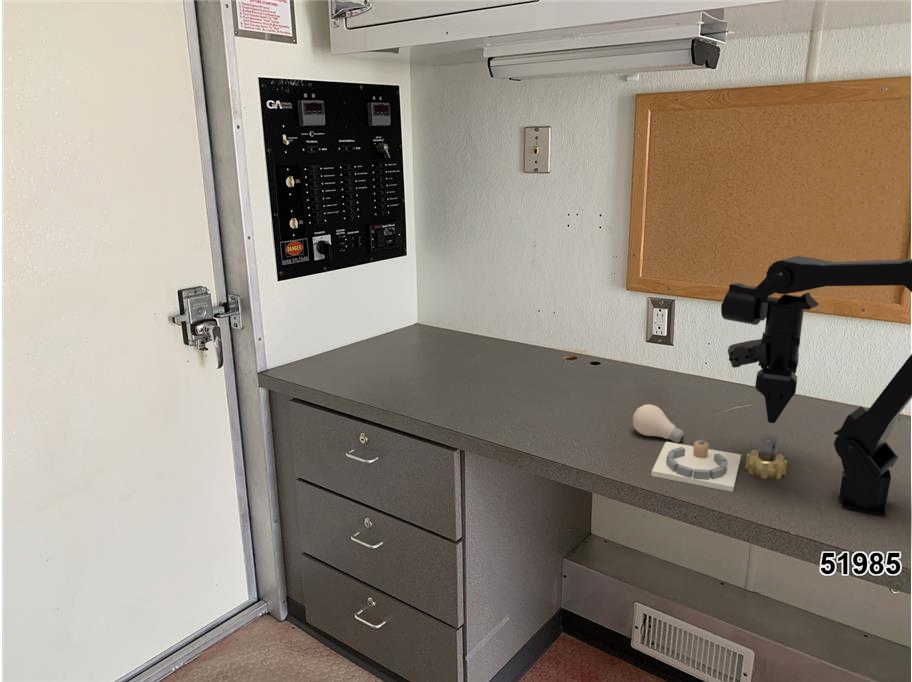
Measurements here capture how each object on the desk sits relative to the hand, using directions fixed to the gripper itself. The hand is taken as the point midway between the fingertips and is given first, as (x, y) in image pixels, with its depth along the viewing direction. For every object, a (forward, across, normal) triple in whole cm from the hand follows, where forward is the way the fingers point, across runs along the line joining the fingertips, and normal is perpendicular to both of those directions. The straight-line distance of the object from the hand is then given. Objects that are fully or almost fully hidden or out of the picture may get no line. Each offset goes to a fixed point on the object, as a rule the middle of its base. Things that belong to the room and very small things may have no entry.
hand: (772, 413), depth 128 cm
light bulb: (+12, -7, -21) cm, 25 cm away
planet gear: (+11, 0, 0) cm, 11 cm away
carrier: (+11, +4, -12) cm, 17 cm away
